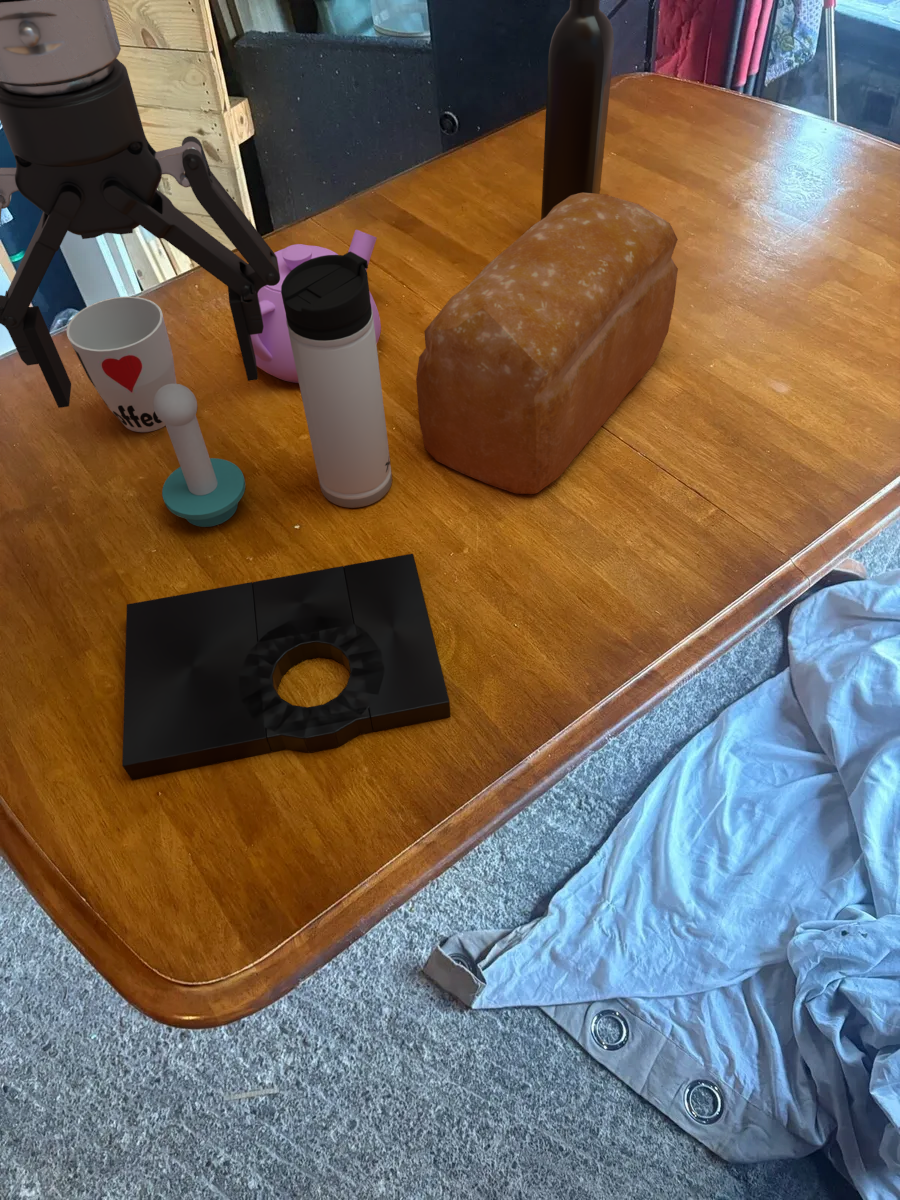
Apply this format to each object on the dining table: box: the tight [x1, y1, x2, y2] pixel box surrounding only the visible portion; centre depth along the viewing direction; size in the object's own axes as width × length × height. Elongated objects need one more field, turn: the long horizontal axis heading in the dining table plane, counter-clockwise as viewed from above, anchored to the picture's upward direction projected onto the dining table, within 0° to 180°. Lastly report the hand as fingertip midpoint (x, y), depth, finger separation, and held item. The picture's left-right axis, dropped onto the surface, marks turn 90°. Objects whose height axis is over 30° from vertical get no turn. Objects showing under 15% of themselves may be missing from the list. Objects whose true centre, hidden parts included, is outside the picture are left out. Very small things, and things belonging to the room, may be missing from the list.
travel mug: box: [281, 251, 393, 509], centre depth 70 cm, size 6×7×20 cm
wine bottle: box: [540, 0, 615, 220], centre depth 90 cm, size 6×6×30 cm
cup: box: [66, 296, 177, 433], centre depth 80 cm, size 8×8×10 cm
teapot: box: [251, 229, 382, 384], centre depth 86 cm, size 14×20×11 cm
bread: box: [415, 193, 679, 495], centre depth 78 cm, size 14×26×16 cm, turn 147°
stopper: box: [153, 383, 246, 528], centre depth 71 cm, size 7×7×13 cm
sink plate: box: [121, 553, 451, 781], centre depth 64 cm, size 22×15×2 cm, turn 102°
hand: (159, 382), depth 66 cm, fingers open, 13 cm apart
